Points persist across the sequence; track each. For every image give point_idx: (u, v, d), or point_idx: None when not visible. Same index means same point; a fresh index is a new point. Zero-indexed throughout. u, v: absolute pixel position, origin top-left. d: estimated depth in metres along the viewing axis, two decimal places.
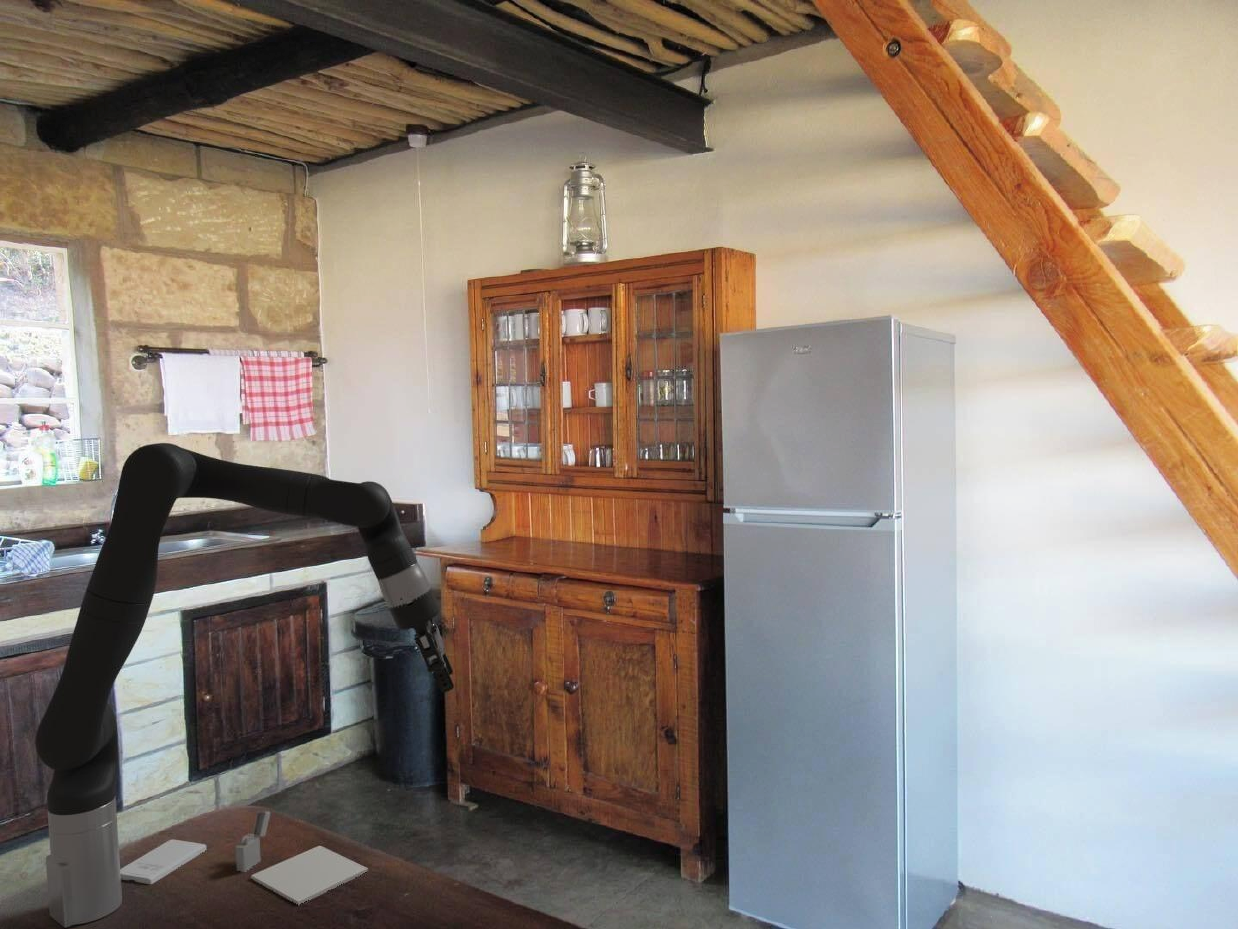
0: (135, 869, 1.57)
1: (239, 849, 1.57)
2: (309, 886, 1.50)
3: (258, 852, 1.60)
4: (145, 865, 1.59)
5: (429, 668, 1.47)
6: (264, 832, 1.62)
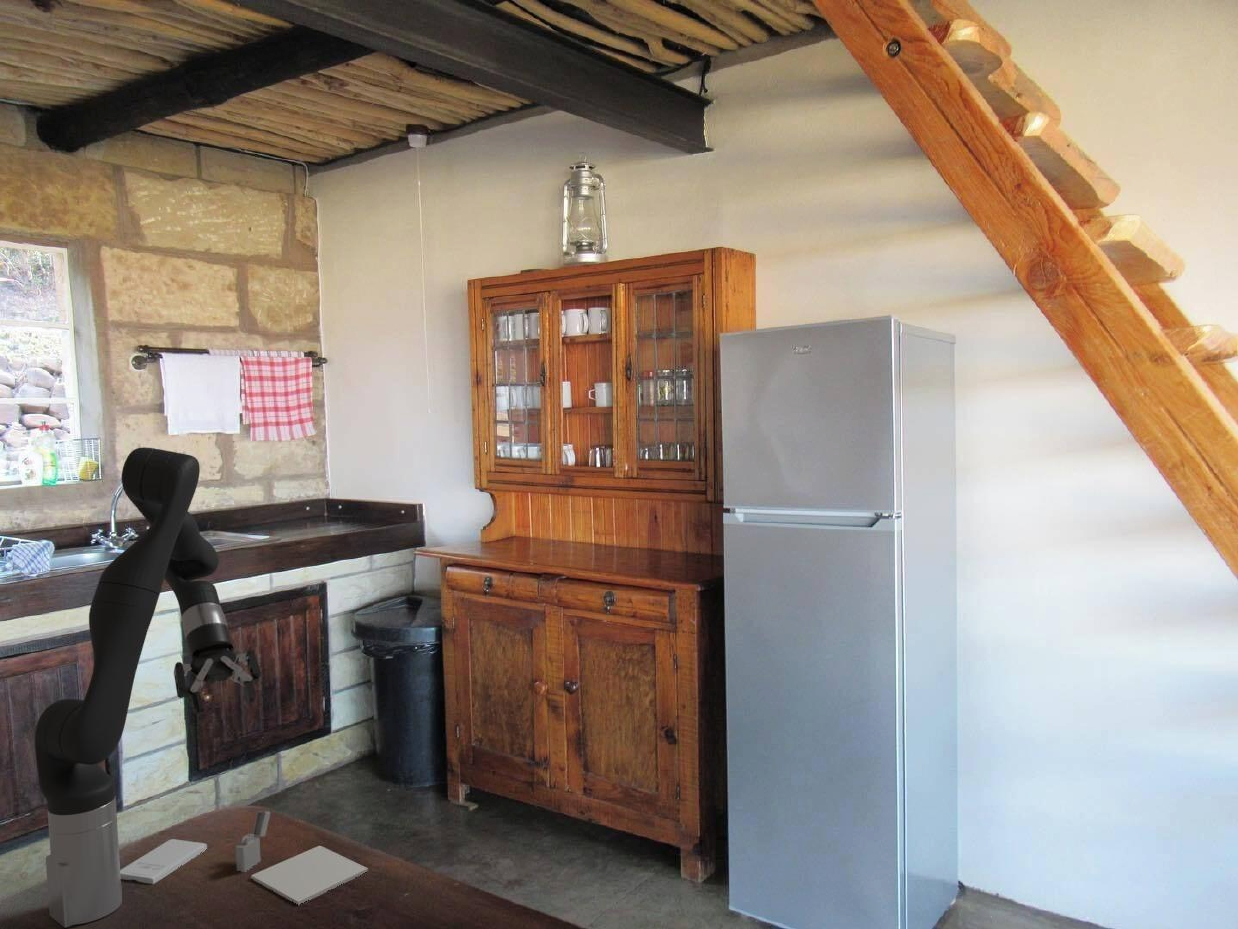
0: (136, 869, 1.57)
1: (239, 849, 1.57)
2: (309, 886, 1.50)
3: (258, 852, 1.60)
4: (146, 865, 1.59)
5: (260, 672, 1.74)
6: (264, 832, 1.62)
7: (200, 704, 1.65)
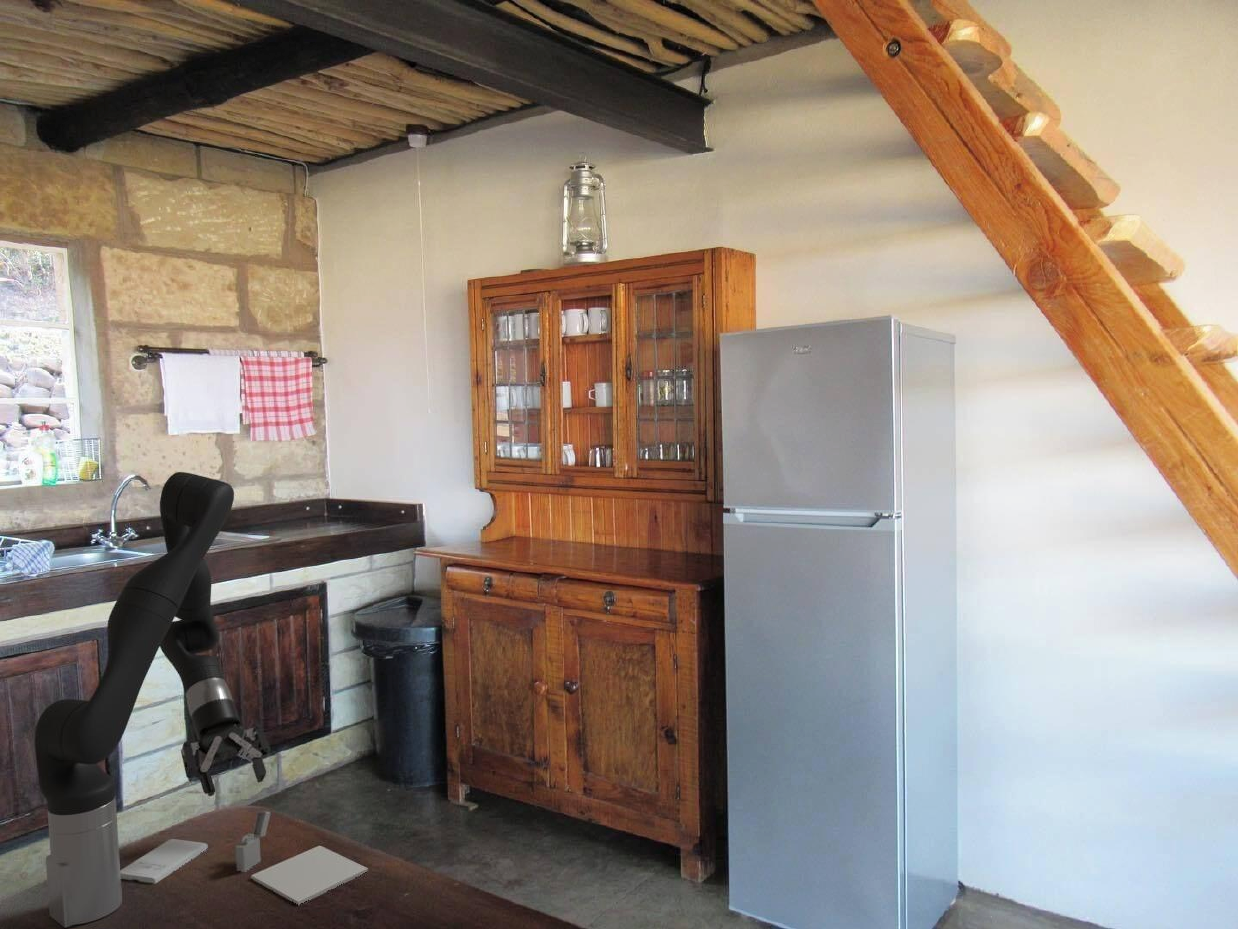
0: (137, 869, 1.57)
1: (239, 849, 1.57)
2: (309, 886, 1.50)
3: (258, 852, 1.60)
4: (147, 864, 1.59)
5: None
6: (264, 832, 1.62)
7: (211, 784, 1.62)
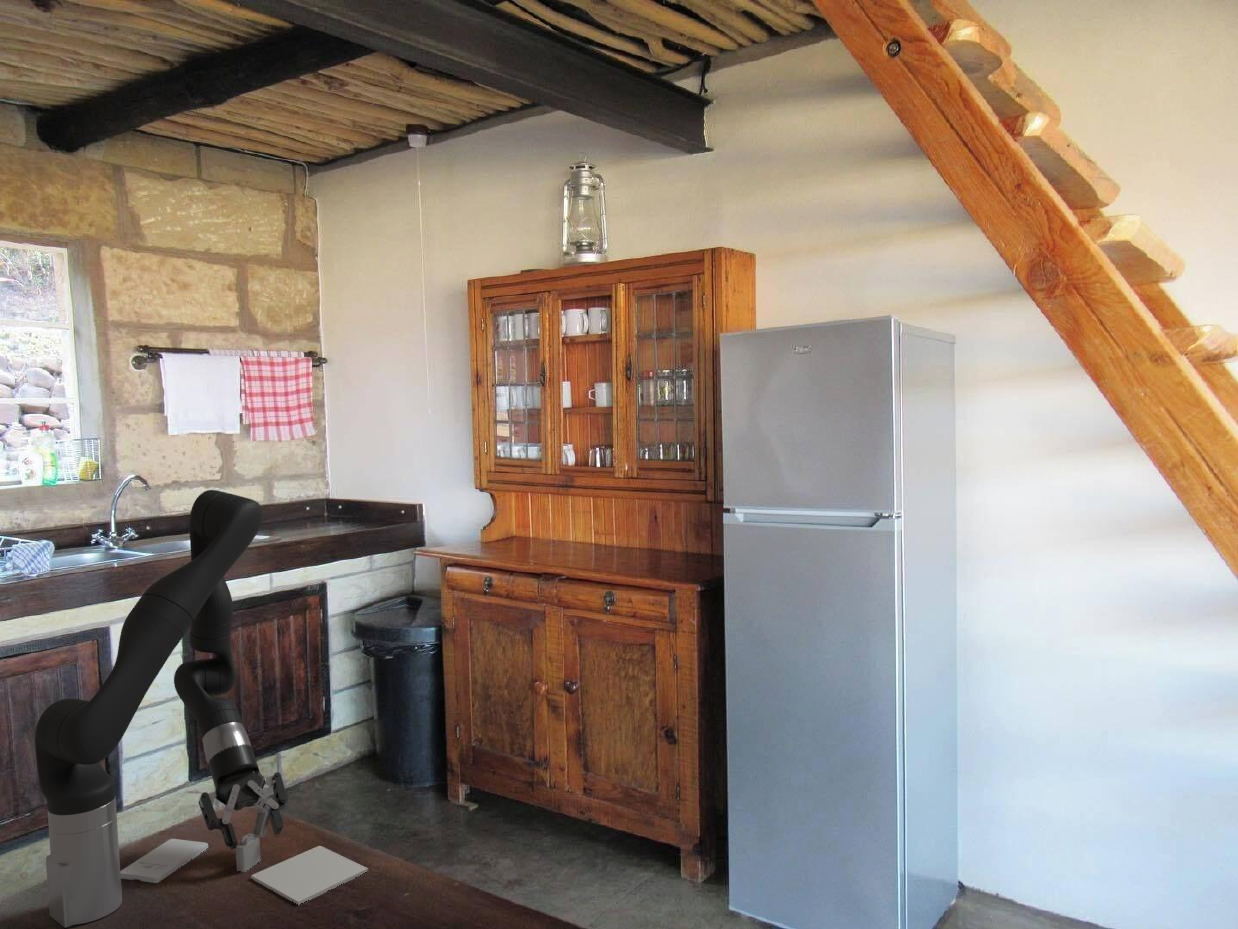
0: (139, 869, 1.57)
1: (239, 849, 1.57)
2: (309, 886, 1.50)
3: (258, 852, 1.60)
4: (148, 864, 1.59)
5: (286, 798, 1.65)
6: (264, 831, 1.62)
7: (233, 837, 1.57)
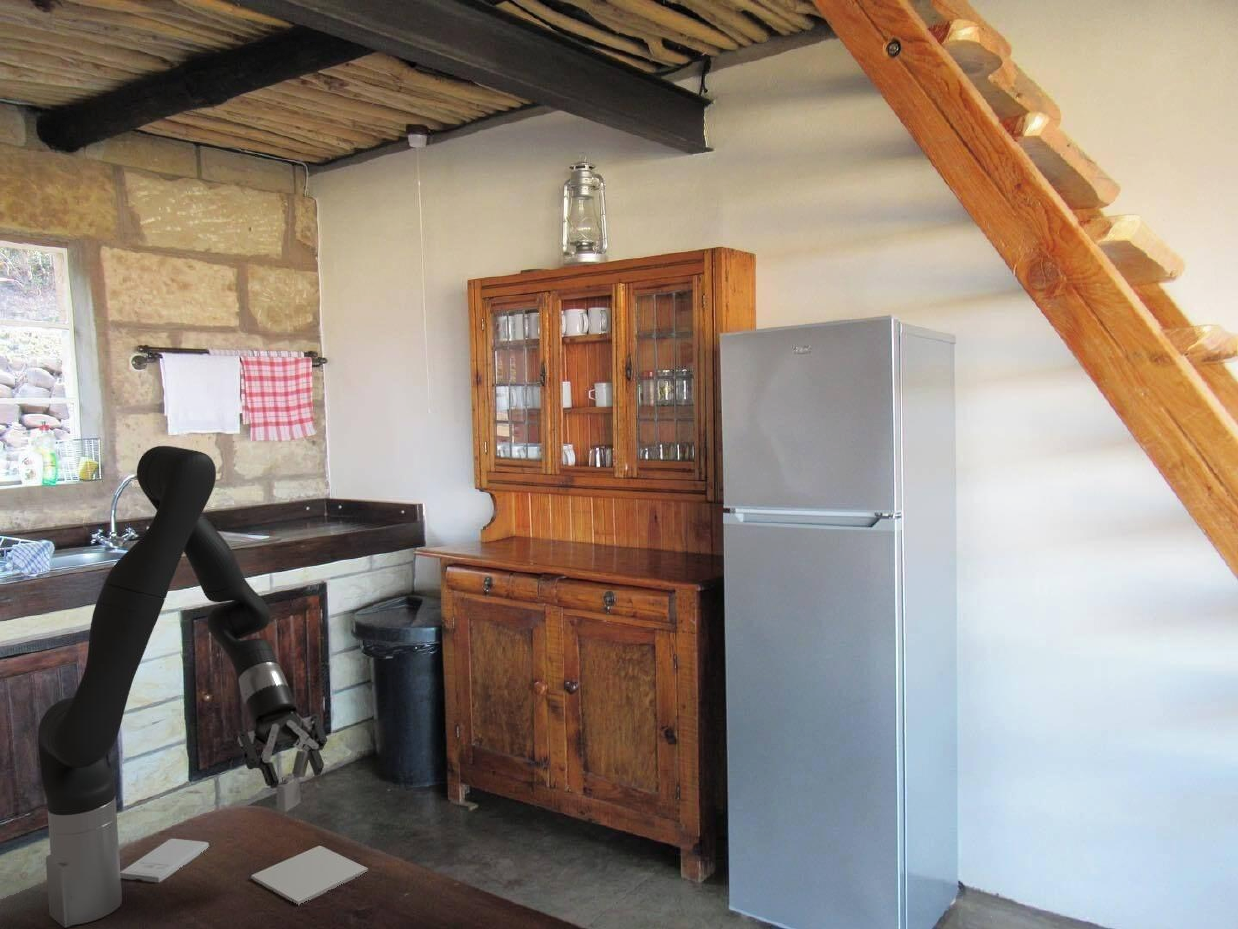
0: (140, 868, 1.57)
1: (280, 788, 1.53)
2: (309, 886, 1.50)
3: (298, 792, 1.56)
4: (149, 864, 1.59)
5: None
6: (304, 772, 1.57)
7: (274, 775, 1.52)
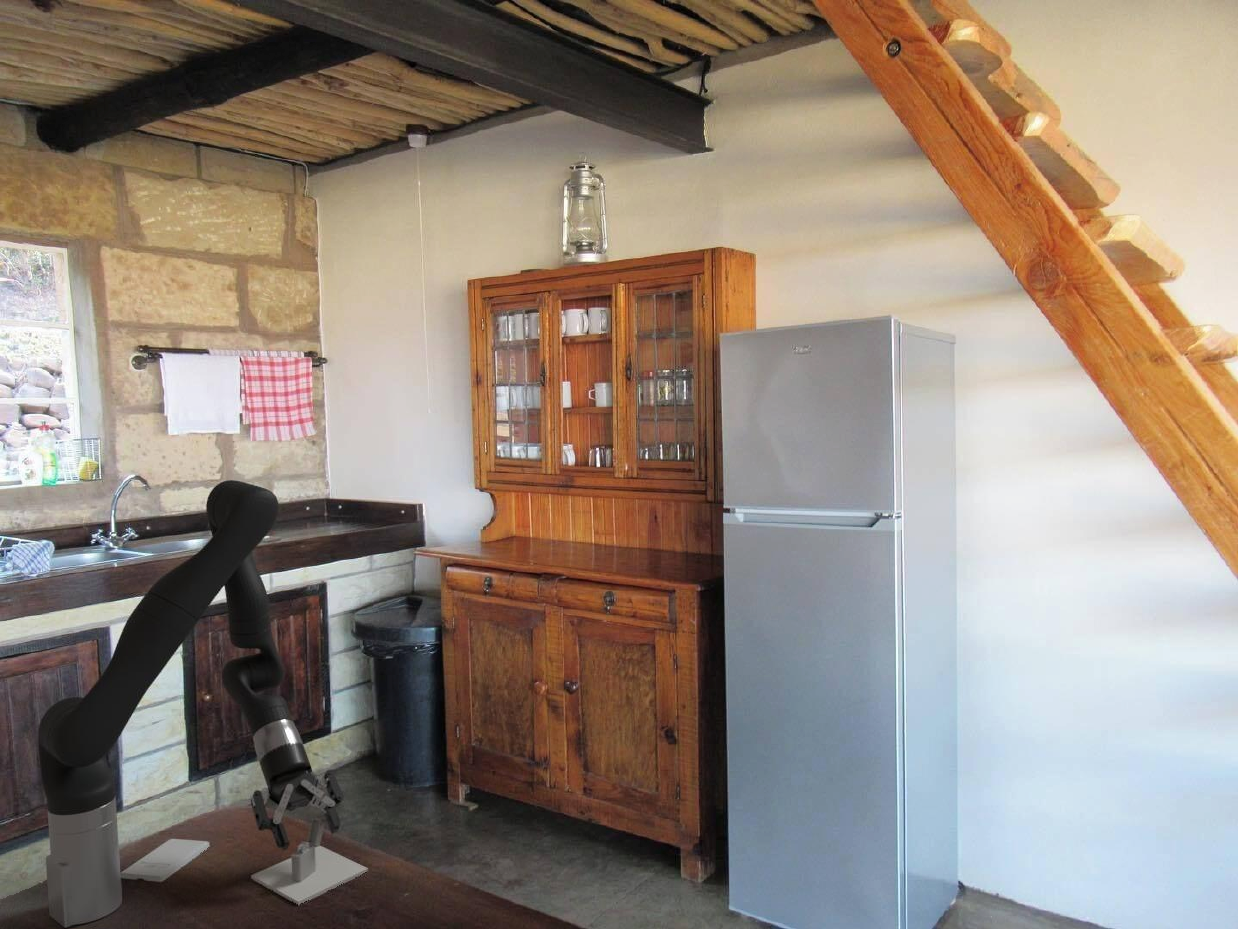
0: (142, 868, 1.57)
1: (295, 858, 1.52)
2: (309, 886, 1.50)
3: (313, 861, 1.55)
4: (151, 864, 1.59)
5: (342, 795, 1.61)
6: (319, 840, 1.57)
7: (285, 837, 1.51)
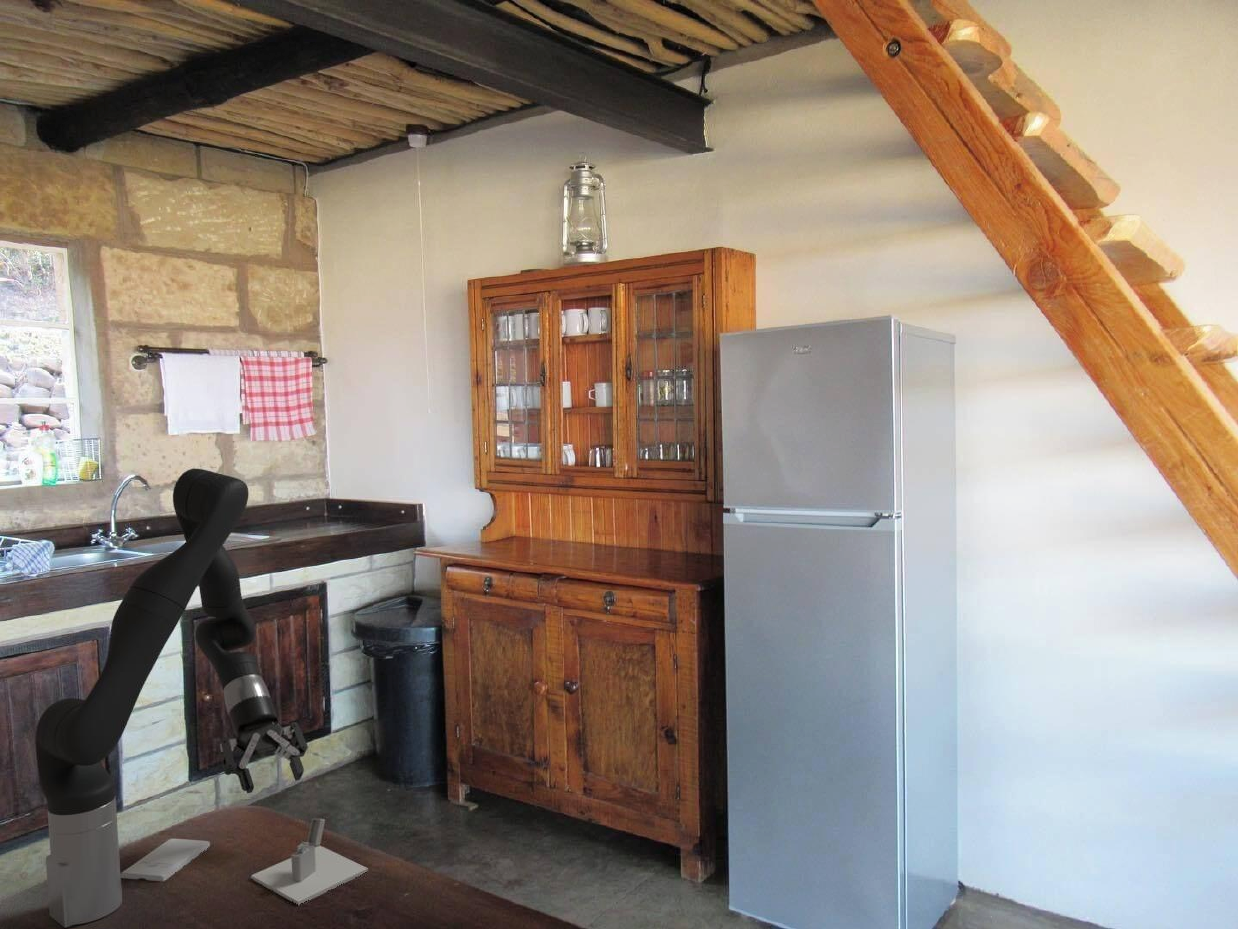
0: (143, 868, 1.57)
1: (295, 858, 1.52)
2: (309, 886, 1.50)
3: (313, 861, 1.55)
4: (152, 863, 1.59)
5: (306, 745, 1.70)
6: (319, 840, 1.57)
7: (250, 781, 1.61)
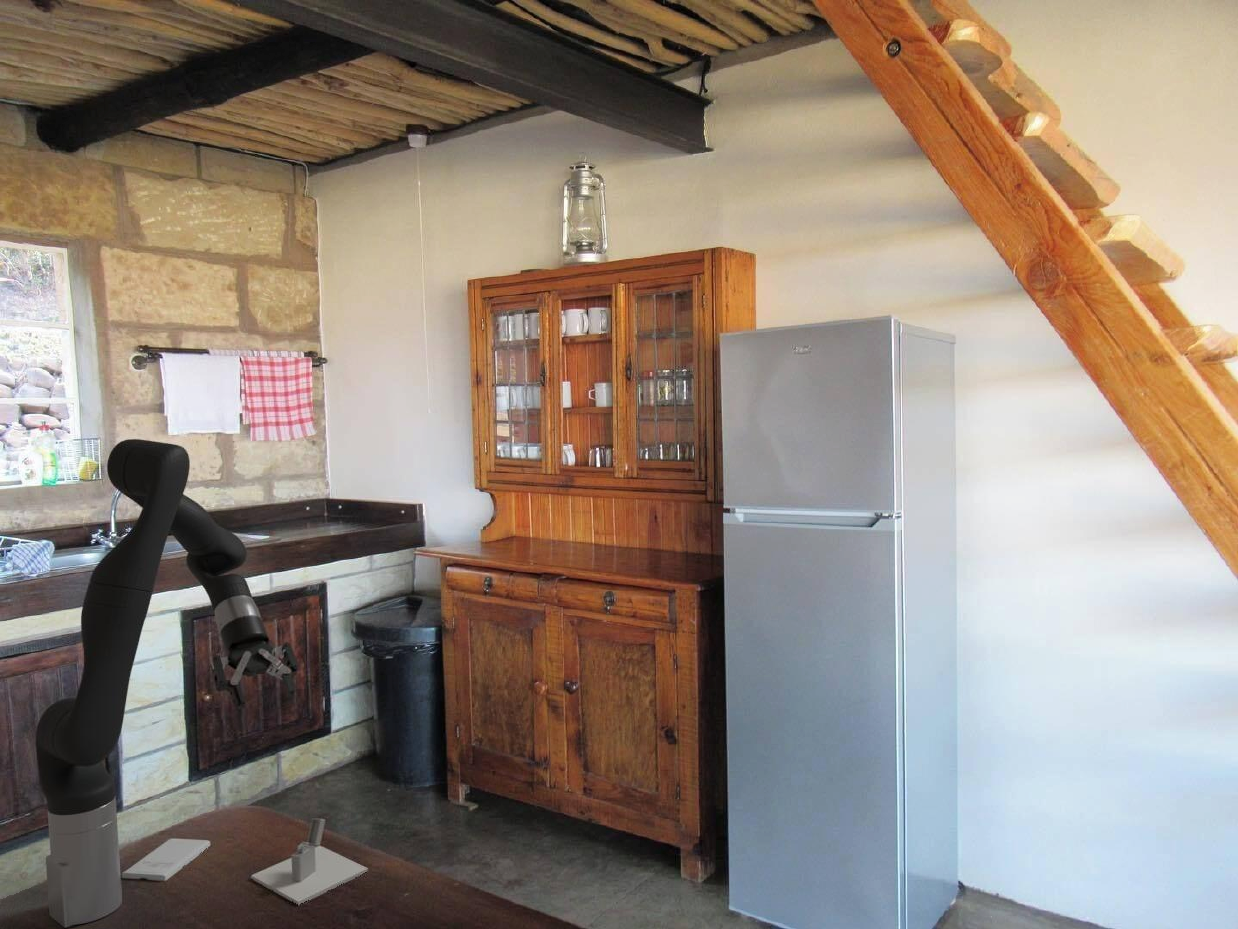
0: (144, 868, 1.58)
1: (295, 858, 1.52)
2: (309, 886, 1.50)
3: (313, 861, 1.55)
4: (153, 863, 1.59)
5: (298, 664, 1.70)
6: (319, 840, 1.57)
7: (241, 697, 1.61)
